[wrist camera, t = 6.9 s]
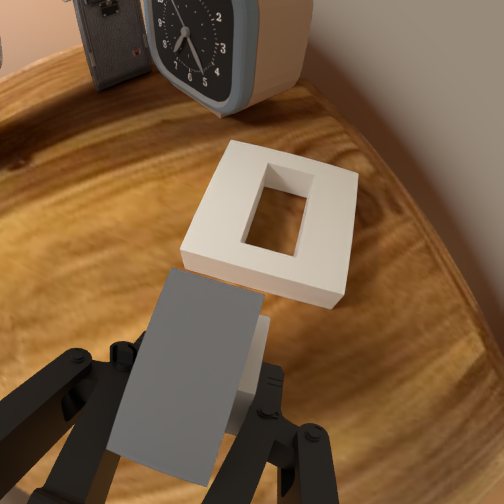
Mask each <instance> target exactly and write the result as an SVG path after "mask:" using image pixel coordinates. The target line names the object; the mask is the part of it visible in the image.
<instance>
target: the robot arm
mask: <svg viewBox="0 0 504 504" xmlns="http://www.w3.org/2000/svg"><path fill="white" fill-rule="evenodd" d="M1 66H2V47H1V39H0V68H1ZM270 319H271V318H270V317H267V316H263V315H259V317H258V321H257V324H256V328H255V331H254V335H253V338H252V342H251V345H250V349H249V352H248V355H247V359H246V362H245V366H244V369H243V372H242V376H241V379H240V382H239V386H238V389H237V393H236V396H235V399H234V402H233V406H232V409H231V412H230V416H229V419H228V422H227V425H226V429H225V433H228V434H232V435H236V436H237V437H236V439H235V441H234V443H233V445H232V447H231V449H230V451H229V453H228V454H227V456H226V458H225V460H224V462H223V464H222V466H221V468H220V470H219V472H218V474H217V476H216V477H215V479H214V481H213V483H212V485H211V487H210V489H209V491H208V492H207V494H206V496H205V498H204V500H203V502H202V503H201V504H250V503H251V500H252V498H253V495H254V493H255V490H256V488H257V485H258V483H259V480H260V478H261V475H262V472H263V470H264V467H265V464H266V462H269V463H271V464H273V465H275V466H277V504H339V499H338V492H337V485H336V478H335V472H334V465H333V459H332V453H331V446H330V440H329V436H328V433H327V431H326V430H325V429H324V428H322V427H321V426H319V425H317V424H313V423H306V424H303V425H301V426H300V427H299V426H297V425H295V424H293V423H291V422H289V421H288V420H287V419H285V418H284V416H283V415H282V412H281V408H280V407H281V398H282V387H283V378H284V373H283V371H282V369H281V367H280V366H276V365H272V364H269V363H265V362H262V359H263V354H264V349H265V344H266V339H267V334H268V329H269V324H270ZM145 333H146V331H144V332H143V333H142V334H141V336H140V337H139V338H138V339H137V340H136V342H134V344H133V343H130V342H126V341H119V342H115V343H113V344H112V345H111V346H110V362H101V361H96V360H92V356H91V354H90V353H89V352H88V351H87V350H84V349H82V348H71V349H69V350H67V351H65V352H64V353H63V354H61V355H60V356H59V357H57V358H56V359H55V360H53V361H52V362H51V363H49V364H48V365H47V366H45V367H44V368H43V369H41V370H40V371H39V372H37V373H36V374H35V375H33V376H32V377H31V378H29V379H28V380H27V381H25V382H24V383H23V384H21V385H20V386H19V387H18V388H16V389H15V390H14V391H12V392H11V393H10V394H8V395H7V396H6V397H5V398H3V399H2V400H1V401H0V500H1V499H2V498H3V497H4V496H5V495H6V494H7V493H8V492H9V491H10V490H11V488H13V487H14V485H15V484H16V483H17V482H18V481H19V480H20V479H21V478H22V477H23V476H24V475H25V474H26V473H27V472H28V471H29V470H30V469H31V468H32V467H33V466H34V465H35V464H36V463H37V462H38V461H39V460H40V459H41V458H42V457H43V456H44V455H45V454H46V453H47V452H48V451H49V450H50V449H51V447H52V446H53V445H54V444H55V443H56V442H57V441H58V440H59V439H60V438H61V437H62V436H63V435H64V434H65V433H66V432H67V431H68V430H69V429H70V428H71V427H72V426H73V425H74V424H75V425H74V427H73V429H72V431H71V432H70V434H69V436H68V438H67V440H66V442H65V444H64V446H63V448H62V450H61V452H60V454H59V456H58V458H57V460H56V462H55V464H54V466H53V468H52V470H51V472H50V474H49V476H48V478H47V480H46V482H45V484H44V486H43V487H42V488H36V489H35V490H34V491H33V493H32V494H31V496H30V498H29V500H28V503H27V504H105V501H106V498H107V495H108V492H109V489H110V486H111V483H112V480H113V477H114V474H115V471H116V468H117V465H118V462H119V459H120V457H121V456H120V455H118V454H116V453H114V452H112V451H110V450H107V449H106V448H107V444H108V441H109V438H110V435H111V431H112V428H113V425H114V422H115V419H116V416H117V412H118V409H119V406H120V403H121V400H122V397H123V394H124V391H125V388H126V385H127V383H128V380H129V377H130V374H131V371H132V368H133V365H134V363H135V360H136V357H137V354H138V352H139V349H140V346H141V343H142V341H143V338H144V335H145Z"/></svg>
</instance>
